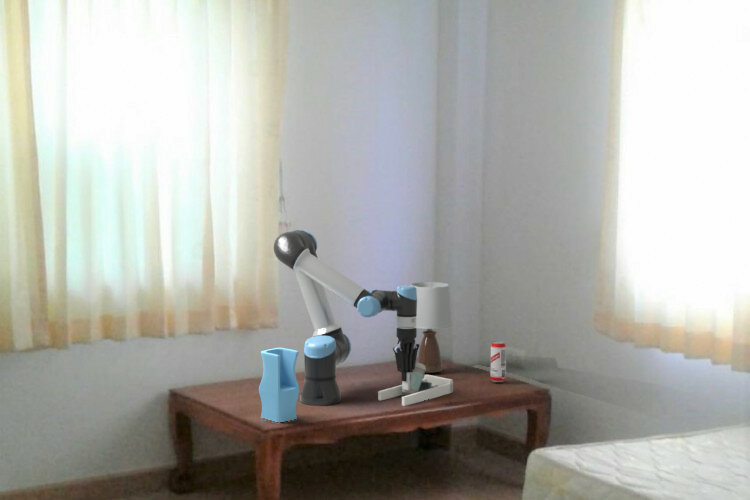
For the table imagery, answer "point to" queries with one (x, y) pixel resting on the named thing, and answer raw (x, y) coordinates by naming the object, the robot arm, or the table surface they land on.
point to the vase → (279, 385)
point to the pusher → (425, 386)
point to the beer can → (498, 361)
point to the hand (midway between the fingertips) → (405, 389)
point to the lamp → (432, 321)
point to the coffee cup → (415, 379)
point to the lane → (443, 388)
